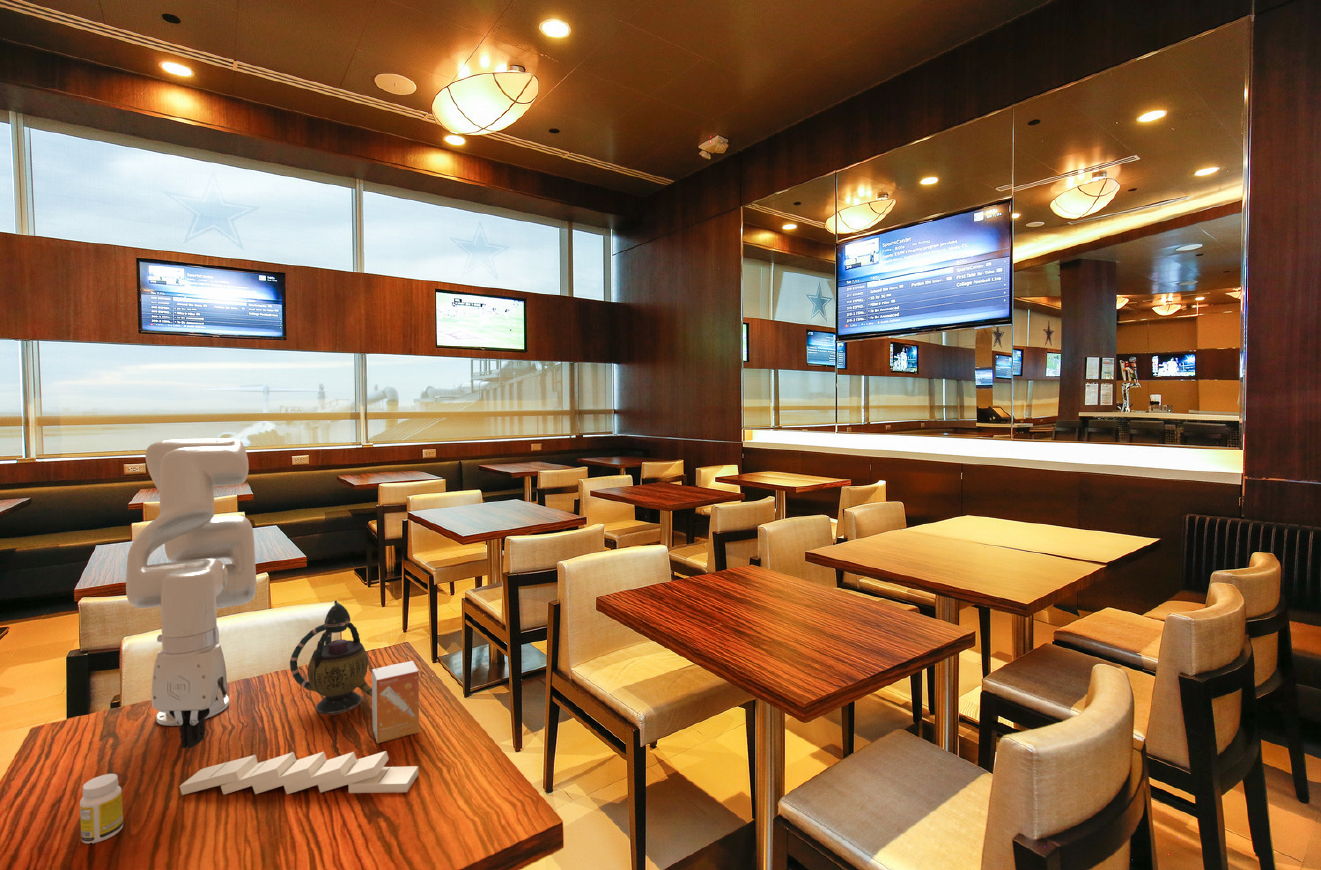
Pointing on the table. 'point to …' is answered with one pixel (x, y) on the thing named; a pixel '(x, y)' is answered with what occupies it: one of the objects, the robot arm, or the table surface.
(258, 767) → the domino
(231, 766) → the domino
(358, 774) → the domino
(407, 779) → the domino
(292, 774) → the domino
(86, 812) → the supplement bottle
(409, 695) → the small box
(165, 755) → the table surface
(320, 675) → the teapot
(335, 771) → the domino
